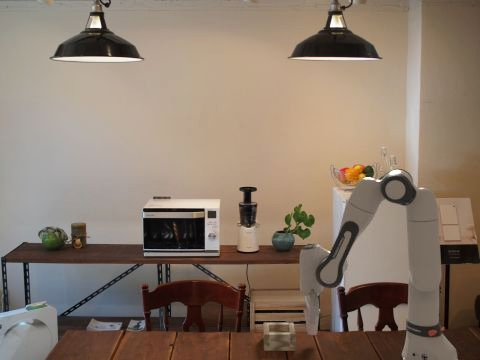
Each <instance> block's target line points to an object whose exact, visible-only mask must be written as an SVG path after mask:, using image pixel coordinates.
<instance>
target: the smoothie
mask: <svg viewBox="0 0 480 360" xmlns="http://www.w3.org/2000/svg"><path fill="white" fill-rule="evenodd" d="M303 313H304V319H305V325H306V333H307V335H308V336H317V334H318V327H319V318H320V316H319V317H316V319H315V324H311V322H310V316H309V312H308V308H307V307H305V308H303ZM319 314H321V309H320V308H319Z"/></svg>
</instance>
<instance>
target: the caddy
mask: <svg viewBox="0 0 480 360" xmlns="http://www.w3.org/2000/svg"><path fill="white" fill-rule="evenodd" d="M262 327H263V335H262V336H263V351H265V352H267V351H270V352H271V351H277V352H278V351H284V352H285V351H286V352H287V351H294V352H295V351H296V330H295V324H294V322H263V325H262Z"/></svg>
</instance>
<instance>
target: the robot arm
mask: <svg viewBox="0 0 480 360" xmlns="http://www.w3.org/2000/svg"><path fill="white" fill-rule="evenodd" d="M413 179H414V178H413V176H412V175H411V174H410V172H408V171H407V170H405V169H402V168H394V169H391V170H389V171H388V172H386V173H385V174H384V175H382V176H380V177H379V179H376V178H373V177H363V178H362V179H360V180H359V181H358V183H357V184H356V185H355V187H354V189H353V191H352V192H351V194H350V195H349V198H348V199H347V202H346V204H345V207H344V209H343V214H342V218H341V222H340V227H339V230H338V231H339V232H338V234H337V237H336V239H335V241H334V243H333V245H332V247H331V249H330V250H328V249H326V248H324V247H323V246H322V245H321V244H319V243H311V244H308V245H305V246H303V247H302V248H301V250H300V253H299V271H300V275H299V290H300V292H302V293H303V296H304V301H305V304H306V308H308V312H309V316H310V322H311V324H315V319H316V317H319V318H320V313H319V309H320V302H319V301H320V300H319V296H320V295H321V292H323V291H324V288H327V289H334V288H337V287H339V286H340V285H341V283H342V282H343V278H344V276H345V274H346V272H347V270H348V266H349V265H348V260H347V258H348V256H349V253H350V252H351V249H352V248H353V245H354V244H355V242H356V241H357V240H358V238H359V237H360V236H361V235H362V234H363V233H364V231H365V230H366V229H367V228H368V226H369V225H370V224H371V223H372V221H373V220H374V217H375V215H376V213H377V212H378V209H379V207H380V205H381V204H382V202H383V201H387V202H389V203H392V204H395V205H396V204H397V205H401V206H404V207H405V211H406V229H407V230H406V232H407V248H408V249H407V251H408V252H407V253H408V291H407V292H408V293H407V295H408V296H407V318H405V319H406V320H405V330H406V336H405V340H404V341H405V342H404V346H403V350H402V352H401V357H402V360H458V352H457V349H456V348H455V347H454V345H453V344H452V343H451V341H449V340H448V339H447V337H446V336H445V335H444V333H443V331H445V329H446V328H445V326H443V327H442V325H441V323H440V321H439V320H440V319H439V317H440V316H439V315H440V283H441V281H442V278H443V277H442V276H443V275H442V260H441V258H442V257H441V256H442V255H441V245H440V244H441V243H440V242H441V241H440V227H439V226H440V222H439V209H438V203H437V198H436V195H435V193H434V191H433V190H431V189H429V188H426V187H418V186H416V185H415V184H414V180H413Z"/></svg>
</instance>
